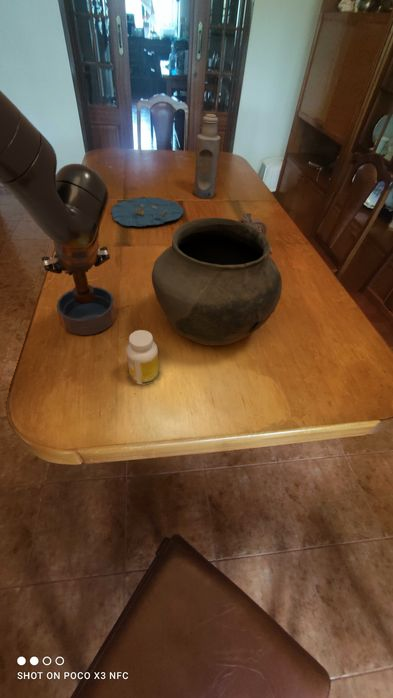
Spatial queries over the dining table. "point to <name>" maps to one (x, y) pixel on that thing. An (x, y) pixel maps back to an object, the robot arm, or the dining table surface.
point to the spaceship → (255, 225)
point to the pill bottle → (142, 357)
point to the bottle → (207, 158)
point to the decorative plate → (146, 211)
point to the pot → (217, 281)
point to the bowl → (87, 312)
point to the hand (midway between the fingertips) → (77, 269)
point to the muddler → (82, 288)
